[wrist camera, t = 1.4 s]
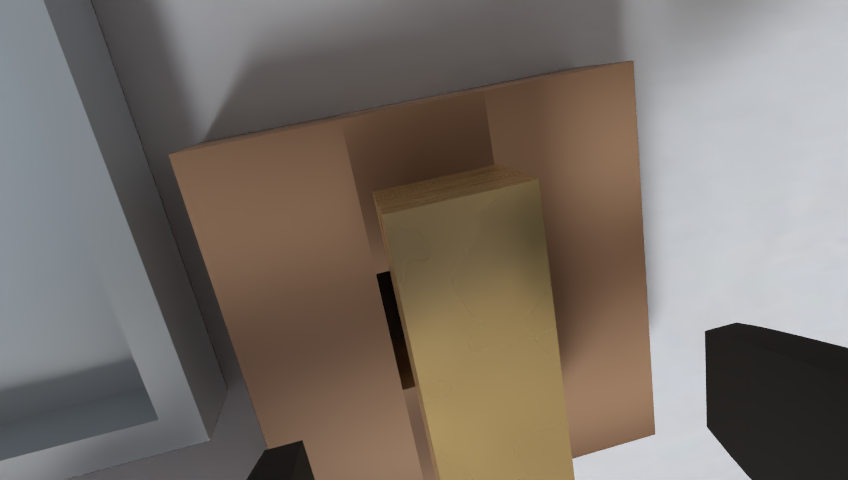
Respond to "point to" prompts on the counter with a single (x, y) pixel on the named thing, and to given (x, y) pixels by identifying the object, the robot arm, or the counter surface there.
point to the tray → (87, 266)
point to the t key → (479, 323)
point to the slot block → (365, 257)
